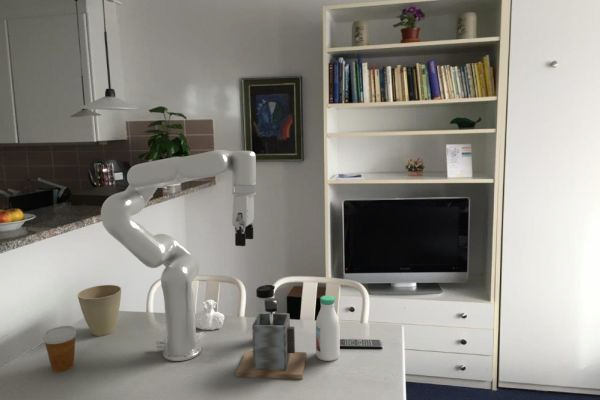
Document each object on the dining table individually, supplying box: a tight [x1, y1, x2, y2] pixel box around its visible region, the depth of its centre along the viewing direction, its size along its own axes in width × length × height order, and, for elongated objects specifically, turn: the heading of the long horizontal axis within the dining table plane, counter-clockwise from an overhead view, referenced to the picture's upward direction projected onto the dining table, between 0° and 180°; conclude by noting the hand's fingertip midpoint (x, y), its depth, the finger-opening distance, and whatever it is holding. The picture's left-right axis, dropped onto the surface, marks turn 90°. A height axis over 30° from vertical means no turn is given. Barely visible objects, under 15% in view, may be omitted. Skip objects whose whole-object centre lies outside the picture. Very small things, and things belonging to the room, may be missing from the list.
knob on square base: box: [264, 297, 278, 325], centre depth 141 cm, size 8×8×17 cm
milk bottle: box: [315, 295, 341, 362], centre depth 148 cm, size 8×8×20 cm
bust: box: [195, 299, 225, 331], centre depth 174 cm, size 12×8×11 cm
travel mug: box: [255, 284, 276, 316], centre depth 160 cm, size 6×7×20 cm
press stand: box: [235, 312, 307, 380], centre depth 142 cm, size 20×14×16 cm
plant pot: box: [77, 284, 122, 337], centre depth 170 cm, size 15×15×16 cm
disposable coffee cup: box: [42, 325, 78, 373], centre depth 144 cm, size 10×10×12 cm
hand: (244, 242), depth 147 cm, fingers open, 9 cm apart
